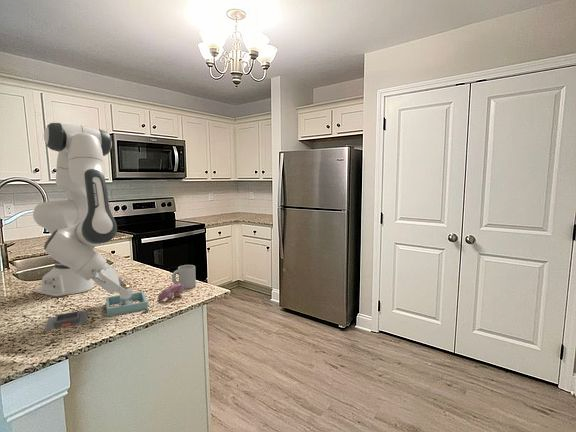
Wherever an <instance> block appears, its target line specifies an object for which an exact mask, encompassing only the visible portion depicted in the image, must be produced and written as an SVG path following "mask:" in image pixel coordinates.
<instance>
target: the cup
mask: <svg viewBox="0 0 576 432" xmlns="http://www.w3.org/2000/svg"><path fill="white" fill-rule="evenodd" d="M177 275H178V281H177V279H176V278H177ZM196 277H197V276H196V266H195V265H193V264H184V265H180V266H178V267H177V269H176V270H174V271H173V272H172V274H171V281H172V284H179V283H180V284H182V285H183V286H184V287H185V289H184V290H188V289H189V290H190V289H193V288H195V287H196V283H197V282H196V281H197V279H196Z"/></svg>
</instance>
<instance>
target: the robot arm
mask: <svg viewBox="0 0 576 432" xmlns="http://www.w3.org/2000/svg"><path fill="white" fill-rule="evenodd" d="M43 141H44V142H45V146H46V147H47V148H48V149H50V150H52V151H55V152H58V153H57V159H56V169H55V170H56V171H55V184H56V186H57V188H58V189H60V190H61V191H63V192H65V193H67V195H68V199H62V200H60V199H59V200H57V199H56V200H49V201H44V202H41V203H38V204H37V205H36V206H35V207H34V209H33V212H32V217H33V220H34V222H35V223H36V224H37V225H38V226H40V227H41V228H42V229H45V230H46V231H47V232H49V233H50V235H49V237H48V238H47V240H46V241H45V243H44V246H43V249H44V251H45V253H46V254H48V255H49V256H50V257H51V258H52V259H53V260H52V264H54V266H53V268H52V269H51V270H49V271H48V272H47V273H45V275H43V276H42V278H41V286H39V287H36V289H35V290H34V292H35V293H38V294H42V295H47V296H52V297H61V296H65V295H66V296H67V295H73V294H80V293H83V292H86V291H90V290H92V289H93V288H95V284H97V286H99V287H101V288H102V289H103V290H105V292H108V293H109V294H110V295H113V294H115V292H116V293H117V294H119V295H120V294H122V295H124V296H127V294H128V293H129V292H128V290H126V289H124V288H123V287H121V286H120V285H122V284H126V283H127V282H125V281H123V280H122V279H121V278H120V277H119V275H118V272H117V271H116V269H115V268H114V267H113V266H112V265H110V264H109V263H108V261H107V259H106V258H104V257H103V256H102V255H100V254H99V253H97V252H96V251H94V250H95V248H96V247H97V246H99V245H101V244H105V243H108V242H110V241H111V240H112V239H114V238H115V236H116V235H117V232H118V224H117V221H116V219H115V217H114V216H113V214H112V212H111V209H110V208H111V207H110V202H109V196H108V189H107V181H106V175H105V174H106V173H105V172H106V171H105V159H104V157H105V156H107V155H108V154H110V152H111V150H112V146H113V140H112V136H111V135H110V133H109V132H108V131H105V130H103V129H97V128H94V127H89V126H85V125H77V124H67V123H66V124H65V123H61V122H50V123H49V124H48V125H47V126H46V127H45V129H44V132H43Z"/></svg>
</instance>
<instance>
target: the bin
mask: <svg viewBox="0 0 576 432" xmlns="http://www.w3.org/2000/svg"><path fill="white" fill-rule="evenodd" d="M105 301H106V302H105V303H106V316H107V317H111V316H117V315H122V314H123V315H124V314H128V313H132V312H133V313H134V312H137V311H142V312H141V313H140V315H143V314H148V313H149V303H148V300H147V297H146V294H145V292H144V291H139V292H137V291H136V292H132V301H138V302H134V303H133V304H128V305H123V306H120V305H119V306H112V307H110V305H113V304H120V294H119V295H114V296H106V297H105ZM139 301H140V302H139ZM141 301H142V302H141ZM143 310H144V311H143Z"/></svg>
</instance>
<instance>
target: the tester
mask: <svg viewBox="0 0 576 432" xmlns="http://www.w3.org/2000/svg"><path fill="white" fill-rule="evenodd" d="M88 313H89V311H88V310H86V311H80V310H77V311H71V312H67V313H61V314H60V313H59V314H55V316H50V317H48V319H47V322H46V325H45V327H44V330H43V331H45V332H47V331H51V330H57V329H61V328H67V327H72V326H77V325H83V324H87V323H88Z"/></svg>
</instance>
